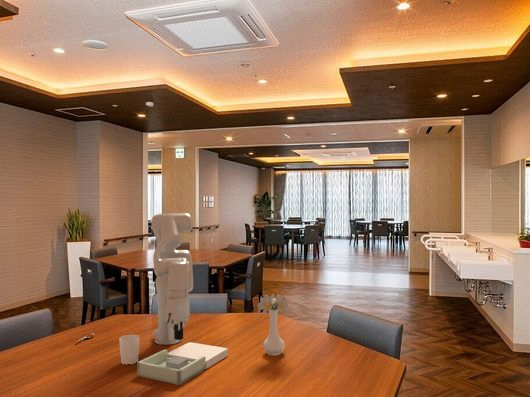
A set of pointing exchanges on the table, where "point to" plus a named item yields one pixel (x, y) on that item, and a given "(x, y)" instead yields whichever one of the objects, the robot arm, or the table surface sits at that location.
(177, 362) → the grey square block
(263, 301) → the flower vase
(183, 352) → the plate
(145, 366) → the box
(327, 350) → the table surface
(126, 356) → the white cup
